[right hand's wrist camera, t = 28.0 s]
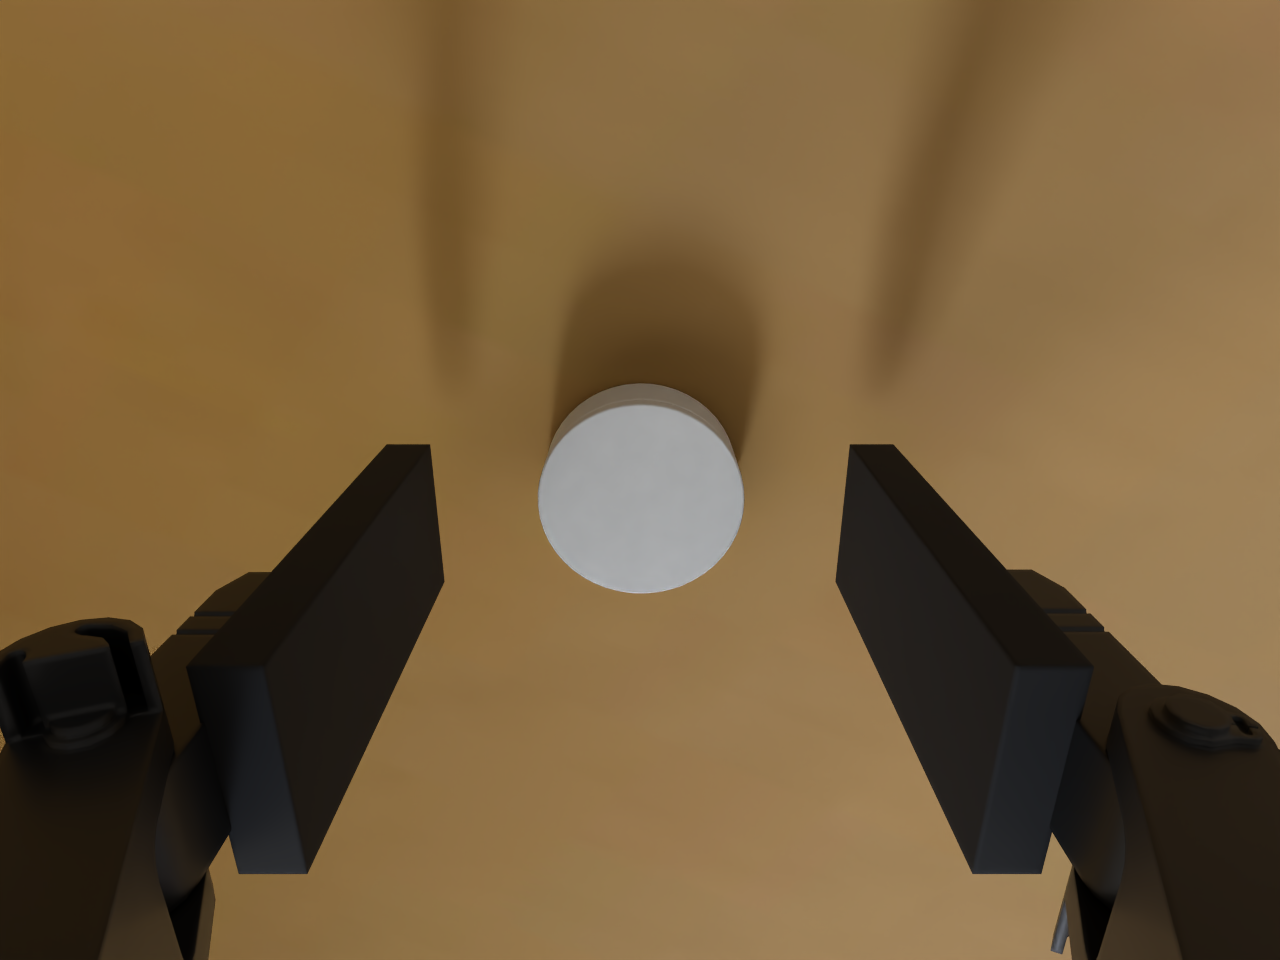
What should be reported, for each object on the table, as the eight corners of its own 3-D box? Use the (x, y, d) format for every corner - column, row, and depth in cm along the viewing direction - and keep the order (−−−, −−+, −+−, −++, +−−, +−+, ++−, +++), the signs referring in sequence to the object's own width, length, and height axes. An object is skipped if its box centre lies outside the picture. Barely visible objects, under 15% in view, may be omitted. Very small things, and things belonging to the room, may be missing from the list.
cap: (567, 570, 17) (560, 606, 15) (528, 399, 15) (517, 421, 14) (745, 543, 17) (755, 578, 15) (723, 367, 15) (731, 388, 14)
